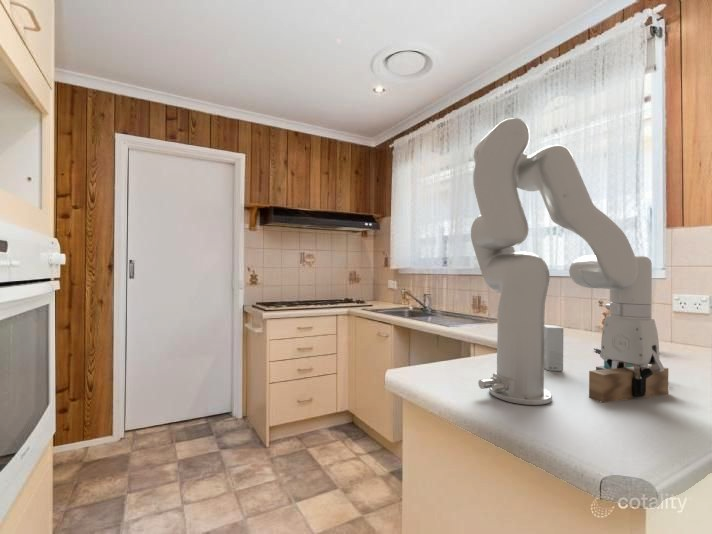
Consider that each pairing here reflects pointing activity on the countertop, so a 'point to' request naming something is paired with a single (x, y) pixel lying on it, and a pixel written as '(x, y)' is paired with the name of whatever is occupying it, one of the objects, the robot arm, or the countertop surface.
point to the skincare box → (553, 348)
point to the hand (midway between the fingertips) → (629, 392)
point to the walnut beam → (623, 384)
